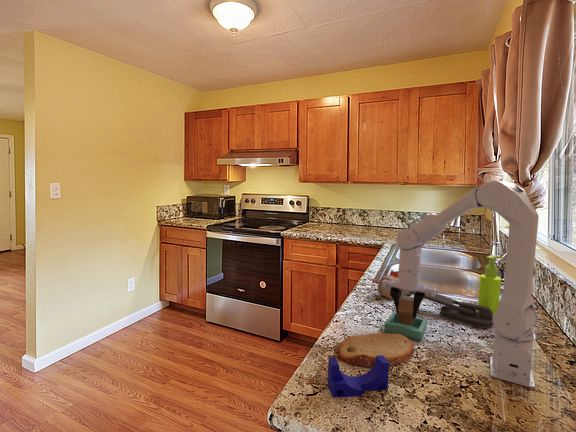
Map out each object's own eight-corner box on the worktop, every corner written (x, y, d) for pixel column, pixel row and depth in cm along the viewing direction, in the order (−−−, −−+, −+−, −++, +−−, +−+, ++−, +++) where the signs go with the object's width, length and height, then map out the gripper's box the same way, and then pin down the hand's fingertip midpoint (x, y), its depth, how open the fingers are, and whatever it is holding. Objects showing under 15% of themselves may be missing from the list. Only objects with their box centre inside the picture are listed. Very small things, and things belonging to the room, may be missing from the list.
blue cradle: (332, 398, 64) (333, 369, 63) (327, 384, 68) (328, 357, 68) (390, 395, 65) (392, 367, 64) (381, 381, 70) (383, 355, 69)
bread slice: (414, 344, 87) (415, 331, 87) (412, 381, 70) (413, 364, 70) (348, 331, 94) (348, 319, 93) (332, 362, 77) (333, 347, 77)
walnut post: (411, 325, 92) (413, 302, 91) (397, 322, 94) (398, 299, 93) (414, 320, 95) (415, 297, 95) (400, 317, 97) (401, 295, 97)
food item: (392, 302, 117) (394, 276, 116) (375, 295, 124) (376, 270, 123) (415, 295, 125) (416, 270, 124) (397, 290, 132) (398, 266, 131)
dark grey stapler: (415, 284, 117) (496, 301, 101) (414, 302, 118) (494, 321, 102) (406, 290, 110) (492, 309, 95) (405, 309, 111) (490, 331, 95)
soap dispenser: (504, 317, 105) (509, 257, 103) (489, 320, 103) (494, 258, 101) (487, 310, 111) (492, 253, 109) (473, 313, 108) (477, 254, 106)
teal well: (420, 340, 88) (421, 332, 88) (384, 331, 93) (384, 323, 93) (426, 327, 96) (427, 319, 96) (392, 319, 102) (392, 312, 101)
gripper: (438, 270, 93) (435, 316, 94) (387, 263, 100) (385, 305, 101) (435, 276, 87) (431, 324, 88) (381, 268, 94) (378, 312, 95)
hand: (406, 315), depth 94 cm, fingers closed on walnut post, 4 cm apart
